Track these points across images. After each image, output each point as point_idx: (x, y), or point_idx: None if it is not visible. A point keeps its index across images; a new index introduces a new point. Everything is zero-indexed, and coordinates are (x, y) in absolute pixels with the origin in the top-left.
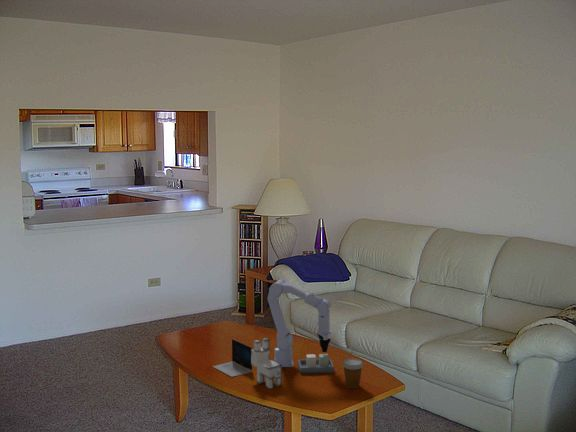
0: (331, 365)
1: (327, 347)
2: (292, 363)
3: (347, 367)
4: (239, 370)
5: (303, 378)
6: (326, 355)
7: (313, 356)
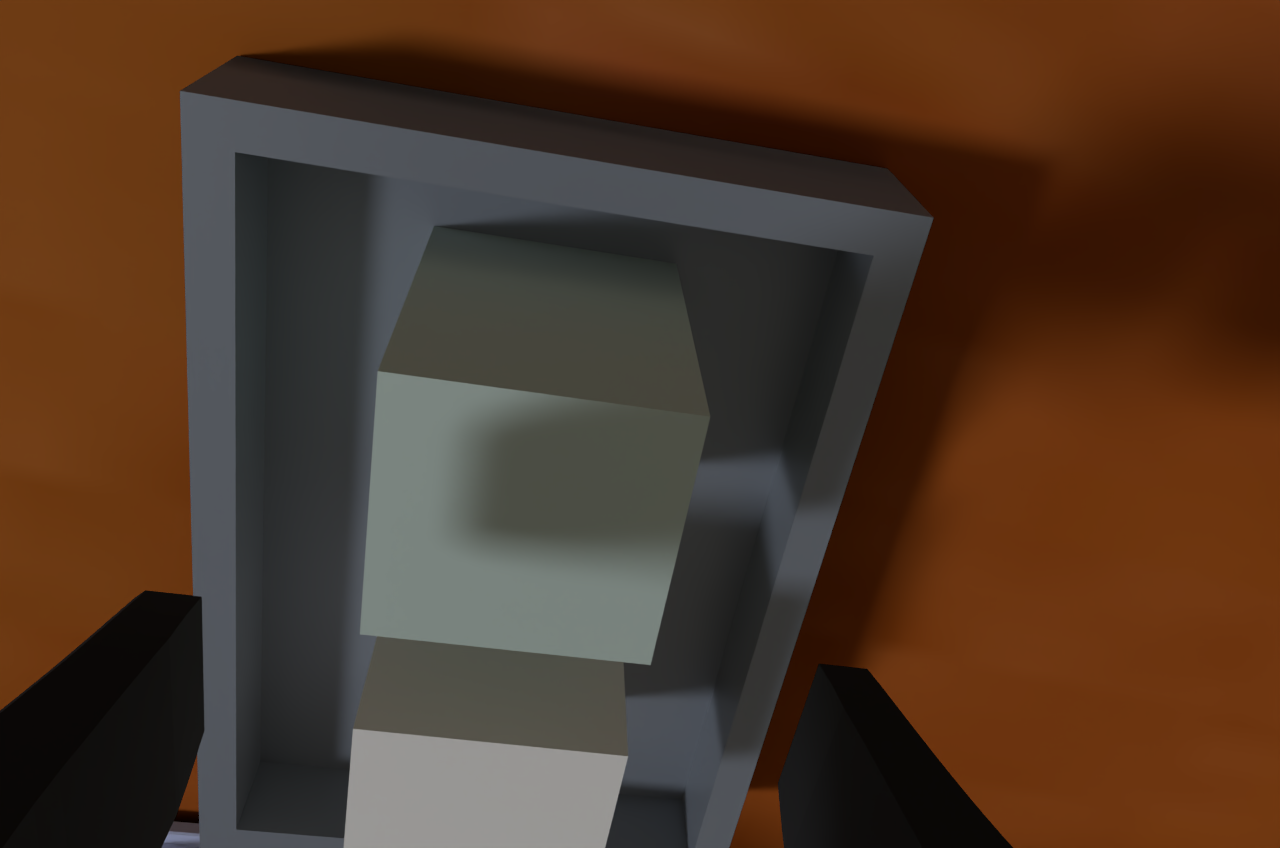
0: (711, 222)
1: (987, 826)
2: (185, 844)
3: None
4: None
5: None
6: (537, 450)
7: (541, 796)
